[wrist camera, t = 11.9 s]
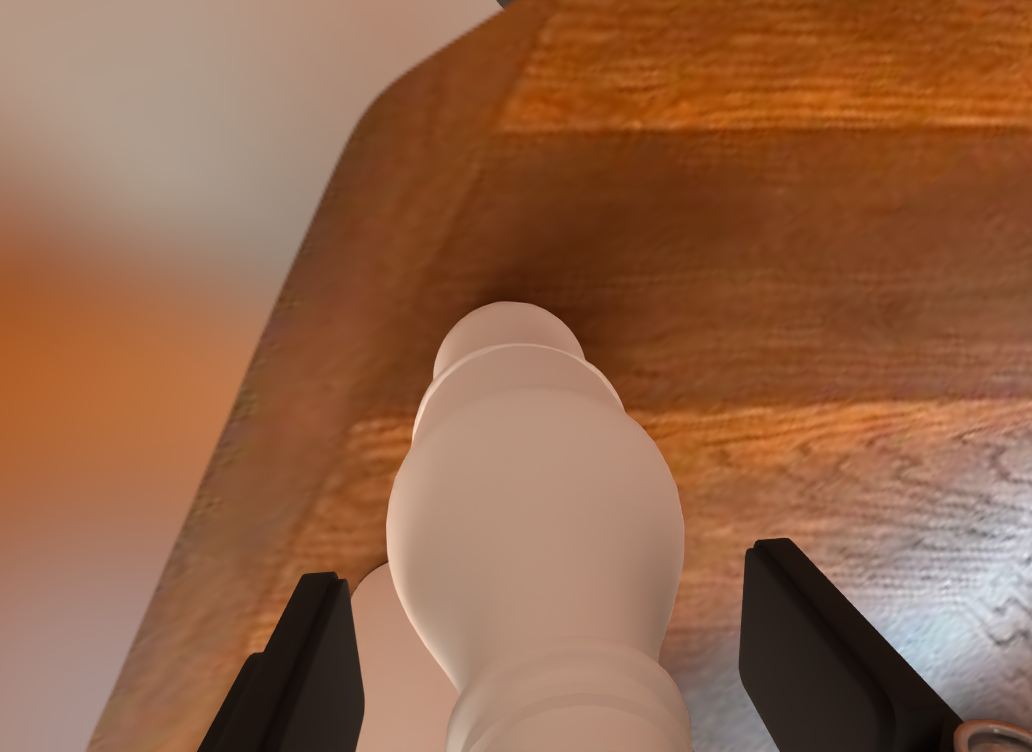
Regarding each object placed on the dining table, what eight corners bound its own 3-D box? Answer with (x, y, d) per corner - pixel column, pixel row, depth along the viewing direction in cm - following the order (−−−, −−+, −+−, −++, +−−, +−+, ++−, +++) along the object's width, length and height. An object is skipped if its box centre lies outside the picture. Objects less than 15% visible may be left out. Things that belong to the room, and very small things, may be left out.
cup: (387, 695, 35) (313, 1064, 20) (322, 588, 33) (183, 910, 18) (511, 645, 35) (534, 984, 20) (454, 534, 33) (428, 817, 17)
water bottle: (483, 451, 32) (480, 1204, 8) (412, 338, 30) (103, 857, 6) (600, 386, 31) (1005, 981, 7) (534, 267, 29) (772, 510, 5)
